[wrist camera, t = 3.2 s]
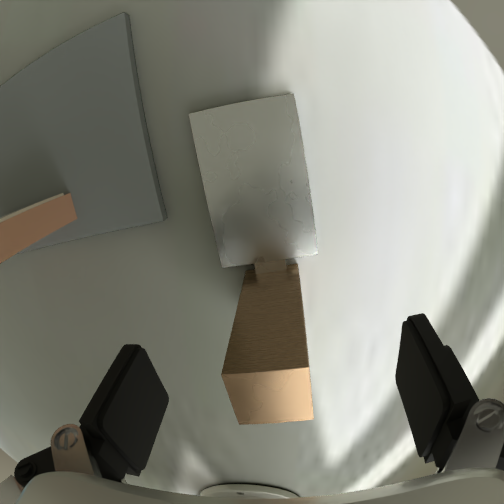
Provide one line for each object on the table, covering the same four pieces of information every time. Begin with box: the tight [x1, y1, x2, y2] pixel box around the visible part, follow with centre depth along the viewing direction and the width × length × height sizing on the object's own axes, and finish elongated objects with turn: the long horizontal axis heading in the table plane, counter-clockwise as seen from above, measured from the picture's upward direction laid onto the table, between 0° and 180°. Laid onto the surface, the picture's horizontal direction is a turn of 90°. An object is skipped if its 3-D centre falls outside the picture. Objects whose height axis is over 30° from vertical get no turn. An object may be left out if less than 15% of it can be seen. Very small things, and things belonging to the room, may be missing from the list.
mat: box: [0, 12, 167, 254], centre depth 15 cm, size 12×16×1 cm
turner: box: [189, 94, 318, 424], centre depth 12 cm, size 11×5×8 cm, turn 10°
